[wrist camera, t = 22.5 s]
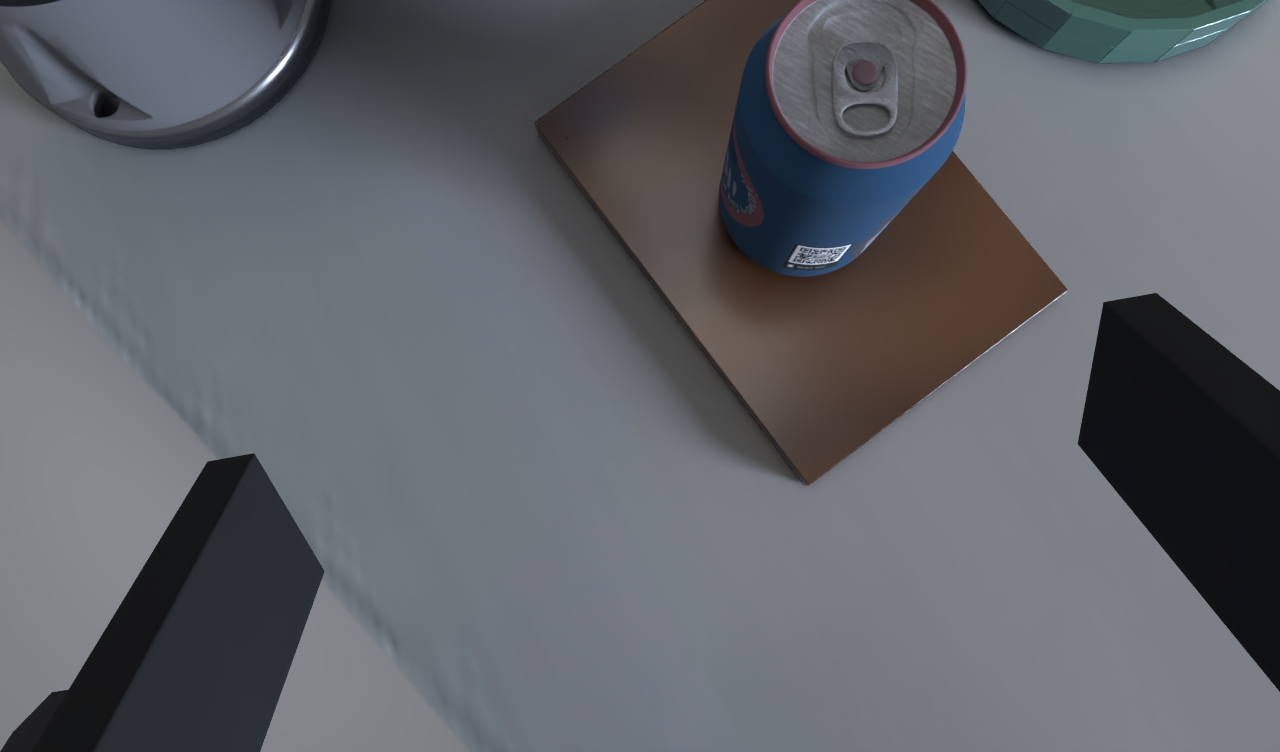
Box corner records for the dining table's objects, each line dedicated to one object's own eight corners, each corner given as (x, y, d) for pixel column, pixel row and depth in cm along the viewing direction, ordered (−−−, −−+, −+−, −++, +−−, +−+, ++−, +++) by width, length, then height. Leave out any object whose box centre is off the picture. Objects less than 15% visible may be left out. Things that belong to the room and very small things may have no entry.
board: (537, 133, 36) (533, 121, 35) (779, -39, 37) (782, -55, 36) (803, 484, 34) (808, 485, 33) (1055, 296, 35) (1068, 290, 34)
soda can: (716, 131, 35) (743, -43, 23) (873, 129, 35) (983, -46, 23) (717, 284, 34) (746, 186, 22) (878, 283, 34) (995, 185, 22)
